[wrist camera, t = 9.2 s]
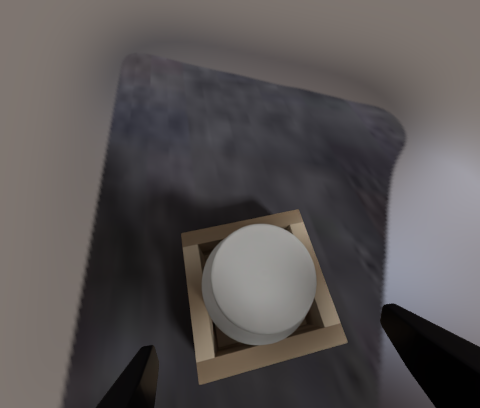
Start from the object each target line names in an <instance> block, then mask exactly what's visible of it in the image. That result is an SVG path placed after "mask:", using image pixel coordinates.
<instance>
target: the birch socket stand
mask: <svg viewBox="0 0 480 408" xmlns="http://www.w3.org/2000/svg"><path fill="white" fill-rule="evenodd" d="M252 224H270V225H275V226H278V227H280V228H283V229H285V230H287V231H288V232H290V233H291V234H293V235H294V236H295V237H297V238H298V239H299V240H300V241H301V242H302V243H303V245H304V246H305V247H306V249H307V250H308V252H309V254H310V256H311V258H312V260H313V263H314V267H315V271H316V280H317V286H316V293H315V297H314V300H313V303H312V305H311V307H310V309H309V311H308V313H307V315H306V317H305V318H304V320H303V322H302V323H301V324H300V326H299V327H298V328H297V329H296V330H295V331H294V332H293V333H292V334H291V335H289V336H288V337H286V338H285V339H283V340H281V341H279V342H276V343H273V344H267V345H249V344H244V343H241V342H238V341H236V340H234V339H232V338H230V337H229V336H227V335H226V334H225V333H223V332H222V331H221V330H220V329H219V328H218V327H217V326H216V325H215V323H214V322H213V321H212V319H211V317H210V316H209V314H208V312H207V309H206V307H205V304H204V300H203V296H202V275H203V270H204V267H205V264H206V261H207V259H208V257H209V255H210V254H211V252H212V251H213V249H214V248H215V247H216V246H217V245H218V244H219V243H220V242H221V241H222V240H224V239H225V238H226V237H228V236H229V235H230V234H231V233H233V232H234V231H236V230H238V229H240V228H242V227H244V226H248V225H252ZM181 238H182V246H183V254H184V263H185V271H186V279H187V288H188V296H189V304H190V313H191V321H192V329H193V338H194V346H195V354H196V363H197V371H198V379H199V385H201V384H205V383H208V382H212V381H215V380H219V379H222V378H226V377H229V376H233V375H236V374H240V373H243V372H247V371H250V370H254V369H257V368H261V367H264V366H268V365H271V364H275V363H278V362H282V361H285V360H289V359H292V358H296V357H299V356H302V355H306V354H309V353H313V352H316V351H320V350H323V349H327V348H330V347H334V346H337V345H341V344H344V343H348V342H347V339H346V336H345V334H344V331H343V328H342V326H341V323H340V320H339V317H338V315H337V312H336V309H335V307H334V304H333V301H332V299H331V296H330V293H329V290H328V288H327V285H326V282H325V280H324V277H323V274H322V271H321V269H320V266H319V263H318V261H317V258H316V255H315V252H314V250H313V247H312V244H311V242H310V239H309V236H308V234H307V231H306V228H305V225H304V223H303V220H302V217H301V215H300V212H299V209H298V210H293V211H288V212H283V213H278V214H273V215H268V216H263V217H258V218H254V219H249V220H244V221H239V222H234V223H229V224H224V225H219V226H214V227H210V228H205V229H200V230H195V231H190V232H185V233H181Z"/></svg>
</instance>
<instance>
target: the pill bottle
mask: <svg viewBox="0 0 480 408" xmlns="http://www.w3.org/2000/svg"><path fill="white" fill-rule="evenodd" d="M316 286H317V280H316V271H315V267H314V263H313V260H312V258H311V256H310V254H309V252H308V250H307V249H306V247H305V246H304V245H303V243H302V242H301V241H300V240H299V239H298V238H297V237H295V236H294V235H293V234H291V233H290V232H288V231H287V230H285V229H283V228H280V227H278V226H275V225H270V224H252V225H248V226H244V227H242V228H240V229H238V230H236V231H234V232H233V233H231V234H230V235H229V236H228V237H226V238H225V239H224V240H222V241H221V242H220V243H219V244H218V245H217V246H216V247H215V248H214V249H213V251H212V252H211V254H210V255H209V257H208V259H207V261H206V264H205V267H204V270H203V275H202V296H203V300H204V304H205V307H206V309H207V312H208V314H209V316H210V317H211V319H212V321H213V322H214V323H215V325H216V326H217V327H218V328H219V329H220V330H221V331H222V332H223V333H225V334H226V335H227V336H229V337H230V338H232V339H234V340H236V341H238V342H241V343H244V344H249V345H267V344H273V343H276V342H279V341H281V340H283V339H285V338H286V337H288V336H289V335H291V334H292V333H293V332H294V331H295V330H296V329H297V328H298V327H299V326H300V324H301V323H302V322H303V320H304V318H305V317H306V315H307V313H308V311H309V309H310V307H311V305H312V303H313V300H314V297H315V293H316Z"/></svg>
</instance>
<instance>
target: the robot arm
mask: <svg viewBox="0 0 480 408" xmlns="http://www.w3.org/2000/svg"><path fill="white" fill-rule="evenodd" d="M380 322H381V325H382V327H383V329H384V331H385V332H386V334H387V336H388V337H389V339H390V341H391V342H392V344H393V345H394V347H395V349H396V350H397V352H398V353H399V355H400V357H401V359H402V360H403V362H404V363H405V365H406V366H407V368H408V369H409V371H410V372H411V374H412V375H413V377H414V378H415V379H416V381H417V382H418V384H419V385H420V386H421V388H422V389H423V390H424V392H425V393H426V394H427V396H428V397H429V399H430V400H431V402H432V403H433V404H434V406H435V407H436V408H480V347H479V346H477V345H475V344H473V343H471V342H469V341H467V340H465V339H463V338H461V337H459V336H457V335H455V334H453V333H451V332H449V331H447V330H445V329H443V328H442V327H440V326H438V325H435V324H433V323H431V322H430V321H428V320H426V319H424V318H422V317H420V316H418V315H416V314H414V313H412V312H410V311H408V310H406V309H404V308H402V307H400V306H398V305H396V304H386V305H384V306H383V307H382V312H381V319H380ZM158 370H159V361H158V357H157V353H156V350H155V347H154V346H153V345H149V346H144V347H142V348H141V349H140V350H139V351H138V352H137V354H136V355H135V356H134V358H133V359H132V360H131V362H130V363H129V364H128V366H127V367H126V368H125V370H124V371H123V372H122V374H121V375H120V376H119V377H118V379H117V380H116V381H115V383H114V384H113V385H112V387H111V388H110V389H109V391H108V392H107V393H106V395H105V396H104V397H103V399H102V400H101V401H100V403H99V404H98V405H97V406H96V408H154V405H155V396H156V387H157V378H158Z"/></svg>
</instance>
